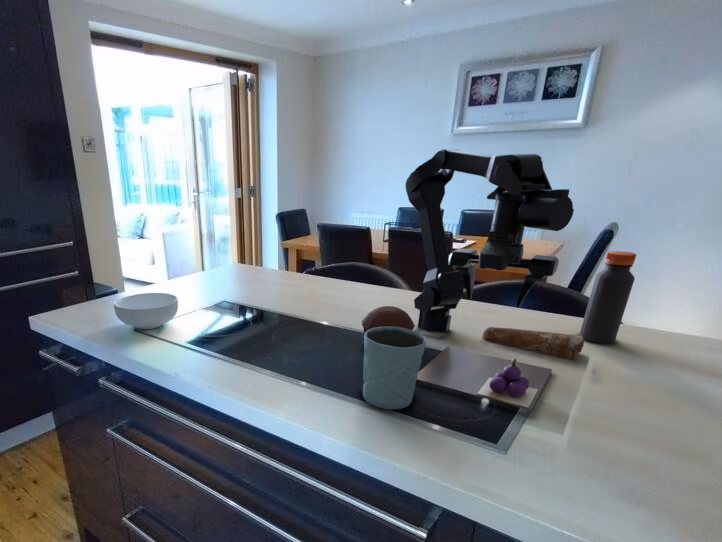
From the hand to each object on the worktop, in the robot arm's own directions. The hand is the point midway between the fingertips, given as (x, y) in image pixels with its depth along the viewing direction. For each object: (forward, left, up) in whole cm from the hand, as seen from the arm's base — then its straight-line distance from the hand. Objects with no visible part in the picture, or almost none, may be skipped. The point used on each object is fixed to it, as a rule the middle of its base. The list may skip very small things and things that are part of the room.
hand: (493, 302), depth 91 cm
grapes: (+8, -17, -11) cm, 22 cm away
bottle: (+18, +26, -12) cm, 34 cm away
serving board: (+3, -12, -12) cm, 17 cm away
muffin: (-18, -10, -12) cm, 24 cm away
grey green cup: (-8, -30, -12) cm, 33 cm away
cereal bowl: (-77, -31, -12) cm, 84 cm away
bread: (+7, +8, -12) cm, 16 cm away
